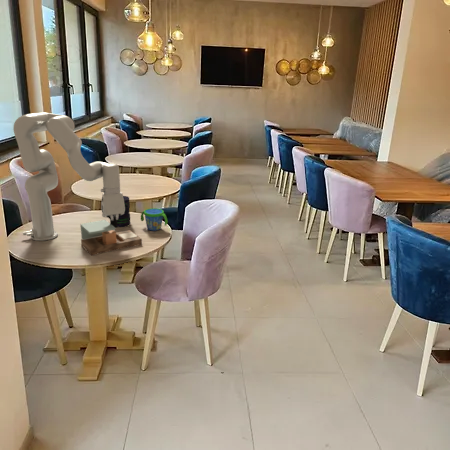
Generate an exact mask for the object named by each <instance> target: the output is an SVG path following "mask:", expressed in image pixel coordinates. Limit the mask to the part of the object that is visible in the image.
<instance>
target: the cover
mask: <svg viewBox="0 0 450 450" xmlns="http://www.w3.org/2000/svg"><path fill="white" fill-rule="evenodd" d="M111 230H114V231H115V230H116V228H115V227H114V226H112V225H111V224H110V222H109V221H107V220H106V219H102V220H96V221H90V222H85V223H80V233H81V239H82V240H83V239H88V238H93V237H98V236H102V232H106V231H111Z"/></svg>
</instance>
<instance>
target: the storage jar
mask: <svg viewBox="0 0 450 450" xmlns="http://www.w3.org/2000/svg"><path fill="white" fill-rule="evenodd" d="M123 198H124V204H125V212H124V214H123V215H120V216H119V218H118V220H117V223H118V225H117V228H126V227H128V225H129V226H130V225H131V214H130V207H131V206H130V202H131V201H130V197H129V196H127V195H123ZM113 218H114V215H113ZM125 226H126V227H125Z"/></svg>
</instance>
